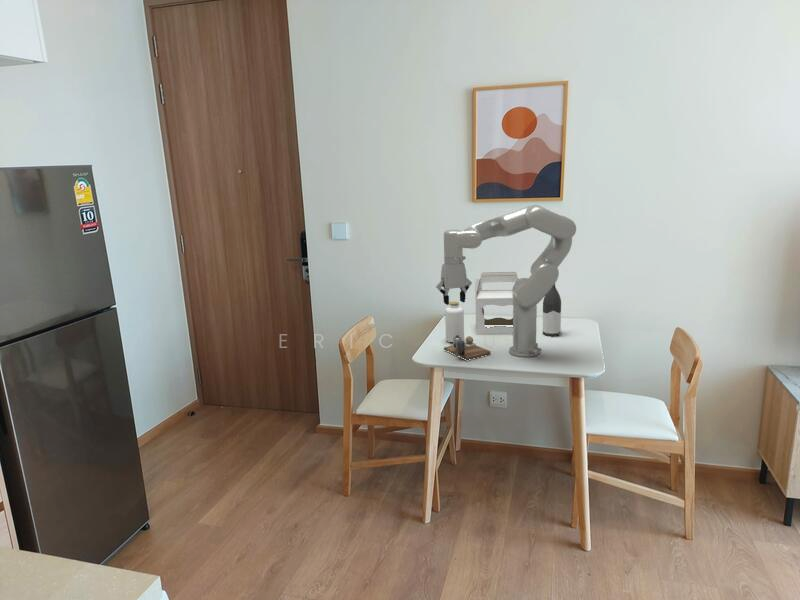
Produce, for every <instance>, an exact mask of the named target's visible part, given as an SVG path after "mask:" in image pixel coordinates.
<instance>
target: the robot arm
mask: <svg viewBox="0 0 800 600" xmlns="http://www.w3.org/2000/svg"><path fill="white" fill-rule="evenodd" d="M532 228H533V229H535V230H537V231H540V232H541V233H544V234H546V235H548V236H550V240H549V243H547V246H546V247H545V248H544V250H543V251H542V252H541V254H540V255H539V256H538V257H537V258H536V259H535V260H534V261H533V263H532V264H531V266H530V276H529V277H528V278H527V277H521V278H518V279H519V280H517V281H516V282H513V283H514V284H513V286H512V289H511V290H512V296H513V305H512V318H513V334H512V346H511V347H509V348H508V352H509V353H510V354H511V355H513V356H516V357H520V358H523V357H525V358H529V357H535V356H537V355H540V353H541V352H542V351H543V349H542V348H541V347H539V344H538V343H537V315H538V312H537V311H538V310H537V308H538V307H537V306H538V304H539V303H540V302H541V301H543V300H544V297H545V295H546V294H547V293H548V291H549V290H550V289H551V288H552V287H553V285H554V284H555V285H556V283H557V282H558V280H559V279H558V278H559V275H560V272H559V271H560V270H559V267H560V266H561V264H562V263H563V261H565V259H566V257H567V256H568V254H569V253H570V251H571V248H572V244H573V237H574V236H575V235H576V233H577V224H576V223H575V222H574V220H572V218H569V217H567V216H565V215H562V214H558V213H557V212H554V211H551V210H549V209H546V208H545V207H543V206H541V205H539V204H532V205H528V206H525V207H523V208H519V209H517V210H515V211H512V212H509V213H507V214H504V215H501V216H497V217H494V218H490V219H487V220H484V221H481V222H479V223H476V224H473V225H471V226H467V228H465V229H463V230H460V229H448V230H445V231H444V233H443V257H444V258H443V262H444V263H443V264H442V265H441V270H440V272H441V273H440V281H439V282H438V284H436V287H435V288H436V289H437V290H438V291H439V292H440V293H441V294H442V296H443V303H444V304H445V305H446V306H447V305H448V306H449V304H450V296H449V295H448V294H449V292H450V290H451V289H458V288H459V290H460V291H459V301H460V302H461V303H465V302H466V293H467V291H468V290H469V289H470V287H471V285H472V284H473V282H472V281H471V280H470V279H469V278H468V277H467V276H468V275H467V270H466V265H465V262H464V261H465V260H466V259H467V258H466V256H464V255H463V254H464V251H463V249H473V250H474V249H477V248H478V247H480V246H481V244H482V242H483V241H485V240H489V239H492V238H498V237H502V238H503V237H505V238H506V237H510V236H513V235H516V234H519V233H522V232H523V231H527V230H529V229H532Z"/></svg>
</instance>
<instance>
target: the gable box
mask: <svg viewBox="0 0 800 600" xmlns="http://www.w3.org/2000/svg"><path fill="white" fill-rule="evenodd" d="M519 279H520V278H518V273H517V272H516V271H503V272H502V271H501V272H500V271H499V272H498V271H497V272H482V273H481V274H480V278H479V279H478V278H476V279H475V285H474V287H475V288H474V291H475V296H474V297H475V298H474V299H475V332H476V333H477V334H476V333H475V334H476V335H513V327H506V326H494V327H490V328H487V327H485V326H484V325H513V317H512V318H509V319H508V318H504V317H493V318H489V319H487V318H485V316H484V315H485V310H484V307H485V306H490V305H491V306H492V305H493V306H498V307H499V306H500V307H505V306H513V296H512V289H485V290H483V289H482V288H483V284H484V283H515V282H516V281H517V280H519Z"/></svg>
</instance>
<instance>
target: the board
mask: <svg viewBox="0 0 800 600" xmlns="http://www.w3.org/2000/svg"><path fill="white" fill-rule="evenodd" d="M458 337H459V335H456V338H458ZM464 342H465V354H464V355H458V354H457V347H456V346H455V345H449V346H444V347H443V351H444V350H446V351H449V352H451V353H453V354H455V355H457V356H460V357H462V358H464V359H466V360H469V359H473V358H476V359H478V358H477V357H480V358H482V357H481V356H484V357H486V356H485V355H487V356H490V355H491V350H489V349H486V348H484V347H481V346H479V345H476V343H474V338H473V337H472V336H470V335H469V336H466V337H465V341H464ZM446 351H445V352H446ZM489 354H490V355H489ZM457 356H456V357H457ZM473 360H474V359H473ZM469 361H470V360H469Z"/></svg>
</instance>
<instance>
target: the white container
mask: <svg viewBox="0 0 800 600" xmlns="http://www.w3.org/2000/svg"><path fill="white" fill-rule="evenodd" d="M464 311H465V310H464V308H463V307H461V306H460V302H458V301H449V305H448V307H447V308H445V311H444V312H445V314H444V315H445V318H444V320H445V340H446V342H447V341H448V342H447V343H449V342H453V337H456V335H459V337H462V341H465V328H464V327H465V316H464V315H465V313H464Z"/></svg>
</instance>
